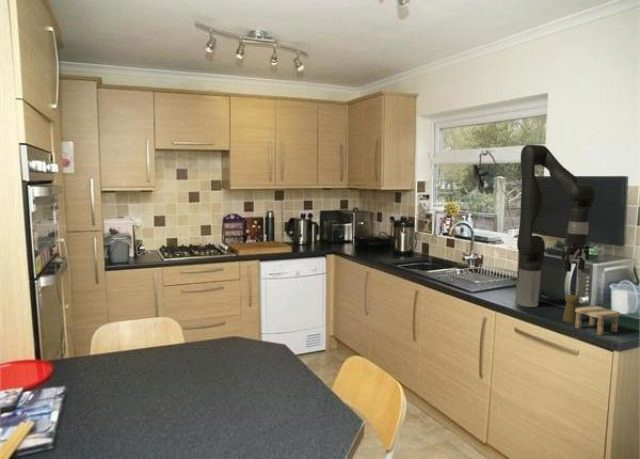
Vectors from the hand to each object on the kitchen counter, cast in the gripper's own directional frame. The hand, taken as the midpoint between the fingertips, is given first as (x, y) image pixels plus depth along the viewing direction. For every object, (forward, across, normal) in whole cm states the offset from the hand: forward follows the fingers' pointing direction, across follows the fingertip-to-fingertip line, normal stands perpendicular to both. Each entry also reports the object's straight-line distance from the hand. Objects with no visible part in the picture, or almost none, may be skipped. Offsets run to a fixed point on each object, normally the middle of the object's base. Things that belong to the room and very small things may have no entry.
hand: (574, 270), depth 196 cm
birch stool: (+22, +2, +12) cm, 25 cm away
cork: (+22, 0, 0) cm, 22 cm away
